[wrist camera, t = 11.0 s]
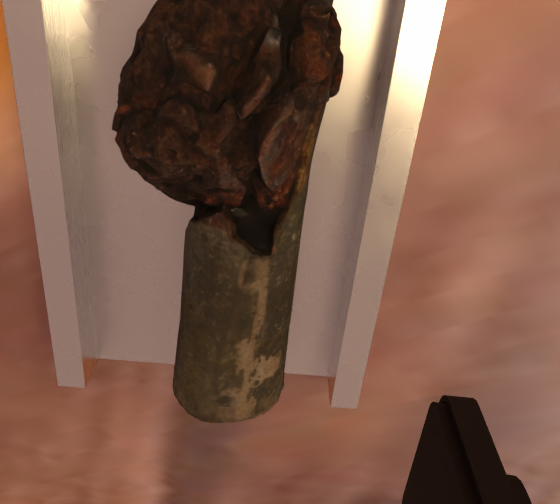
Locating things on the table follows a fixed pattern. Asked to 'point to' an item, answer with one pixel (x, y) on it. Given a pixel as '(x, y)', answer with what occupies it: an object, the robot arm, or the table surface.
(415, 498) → the robot arm
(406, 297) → the table surface
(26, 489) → the table surface
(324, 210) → the cradle
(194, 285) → the brown knobbed club
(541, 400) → the table surface
